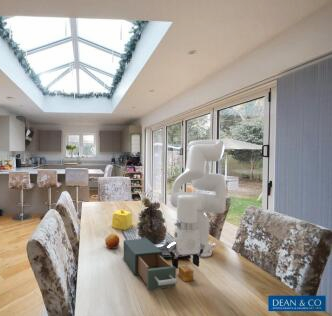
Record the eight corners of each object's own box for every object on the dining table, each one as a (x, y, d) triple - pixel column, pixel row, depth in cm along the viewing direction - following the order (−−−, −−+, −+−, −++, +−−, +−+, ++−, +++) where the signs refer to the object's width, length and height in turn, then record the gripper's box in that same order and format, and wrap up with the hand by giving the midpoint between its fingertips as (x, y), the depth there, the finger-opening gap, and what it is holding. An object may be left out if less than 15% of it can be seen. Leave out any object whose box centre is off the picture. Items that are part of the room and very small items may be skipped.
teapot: (124, 232, 136) (124, 214, 136) (107, 229, 142) (108, 212, 142) (134, 223, 153) (134, 208, 153) (119, 221, 160) (119, 206, 159)
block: (186, 274, 89) (187, 265, 89) (193, 280, 85) (193, 270, 85) (178, 275, 88) (178, 266, 88) (184, 281, 84) (184, 271, 84)
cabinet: (161, 272, 90) (162, 251, 90) (134, 275, 88) (135, 254, 88) (146, 256, 105) (147, 238, 105) (123, 258, 102) (123, 240, 102)
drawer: (182, 293, 75) (182, 274, 75) (153, 297, 73) (154, 277, 73) (158, 267, 93) (158, 251, 92) (134, 270, 90) (134, 253, 90)
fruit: (122, 248, 110) (114, 234, 111) (109, 254, 112) (102, 241, 112) (123, 241, 118) (116, 229, 119) (111, 247, 119) (104, 235, 120)
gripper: (172, 228, 80) (171, 272, 80) (211, 227, 84) (210, 269, 84) (162, 222, 88) (161, 263, 88) (198, 221, 91) (197, 260, 91)
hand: (185, 265), depth 86 cm, fingers open, 9 cm apart
